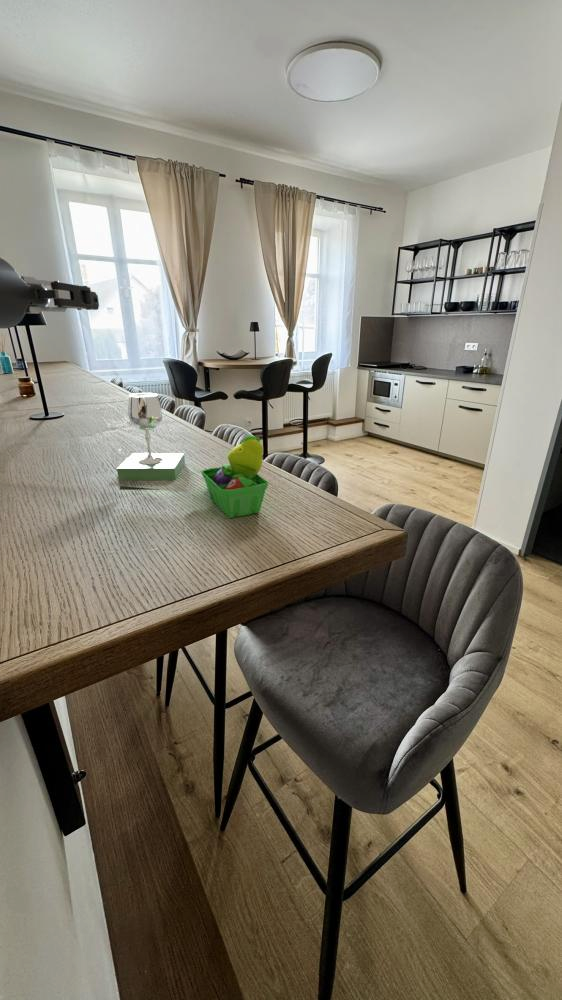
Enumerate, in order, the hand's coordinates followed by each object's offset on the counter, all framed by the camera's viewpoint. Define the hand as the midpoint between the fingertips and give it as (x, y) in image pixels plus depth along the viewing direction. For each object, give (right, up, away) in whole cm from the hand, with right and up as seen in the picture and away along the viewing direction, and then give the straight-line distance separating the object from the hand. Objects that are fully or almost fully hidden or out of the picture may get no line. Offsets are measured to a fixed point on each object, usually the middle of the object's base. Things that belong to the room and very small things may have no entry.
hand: (68, 301), depth 58 cm
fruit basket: (+23, -29, +10) cm, 38 cm away
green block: (+6, -24, +20) cm, 32 cm away
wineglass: (+6, -21, +19) cm, 29 cm away
